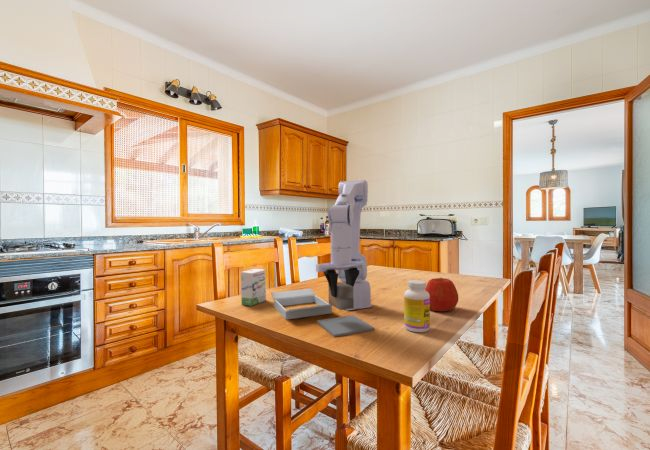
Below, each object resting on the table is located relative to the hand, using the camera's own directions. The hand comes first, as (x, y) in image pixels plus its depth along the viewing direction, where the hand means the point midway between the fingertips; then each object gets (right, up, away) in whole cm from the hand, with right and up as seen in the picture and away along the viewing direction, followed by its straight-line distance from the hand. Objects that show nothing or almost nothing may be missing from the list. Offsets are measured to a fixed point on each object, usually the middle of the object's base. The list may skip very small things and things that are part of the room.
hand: (341, 295), depth 86 cm
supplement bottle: (+20, -9, -3) cm, 22 cm away
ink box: (-31, -9, +25) cm, 41 cm away
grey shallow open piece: (-13, -8, +15) cm, 22 cm away
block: (0, -3, +1) cm, 3 cm away
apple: (+33, -8, +14) cm, 37 cm away
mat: (+1, -8, -1) cm, 8 cm away
